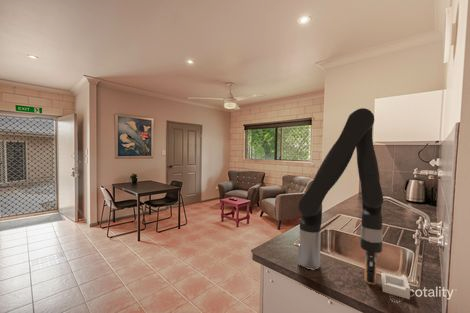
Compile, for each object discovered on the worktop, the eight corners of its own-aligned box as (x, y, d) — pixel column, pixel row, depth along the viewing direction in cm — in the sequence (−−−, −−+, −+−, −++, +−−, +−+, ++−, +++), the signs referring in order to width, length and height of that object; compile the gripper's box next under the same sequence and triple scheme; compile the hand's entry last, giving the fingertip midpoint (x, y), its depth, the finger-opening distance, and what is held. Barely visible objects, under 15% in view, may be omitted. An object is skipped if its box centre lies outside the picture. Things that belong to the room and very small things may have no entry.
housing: (382, 291, 80) (383, 281, 80) (381, 279, 88) (381, 269, 88) (409, 299, 76) (410, 288, 76) (405, 285, 84) (405, 275, 84)
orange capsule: (364, 282, 86) (364, 263, 85) (364, 277, 89) (364, 259, 89) (376, 286, 83) (376, 266, 83) (375, 280, 87) (376, 261, 87)
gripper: (360, 230, 94) (359, 268, 94) (360, 242, 82) (359, 285, 82) (381, 233, 90) (380, 273, 90) (383, 246, 78) (382, 292, 78)
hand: (370, 278), depth 86 cm, fingers closed on orange capsule, 4 cm apart
